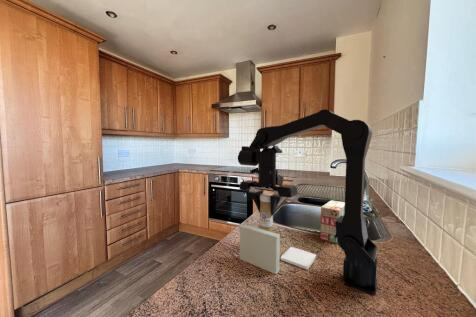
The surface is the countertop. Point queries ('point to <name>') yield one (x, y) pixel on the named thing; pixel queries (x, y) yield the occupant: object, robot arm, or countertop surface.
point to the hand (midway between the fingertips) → (266, 213)
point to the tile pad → (298, 257)
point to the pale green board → (260, 248)
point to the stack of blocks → (330, 219)
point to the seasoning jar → (265, 213)
